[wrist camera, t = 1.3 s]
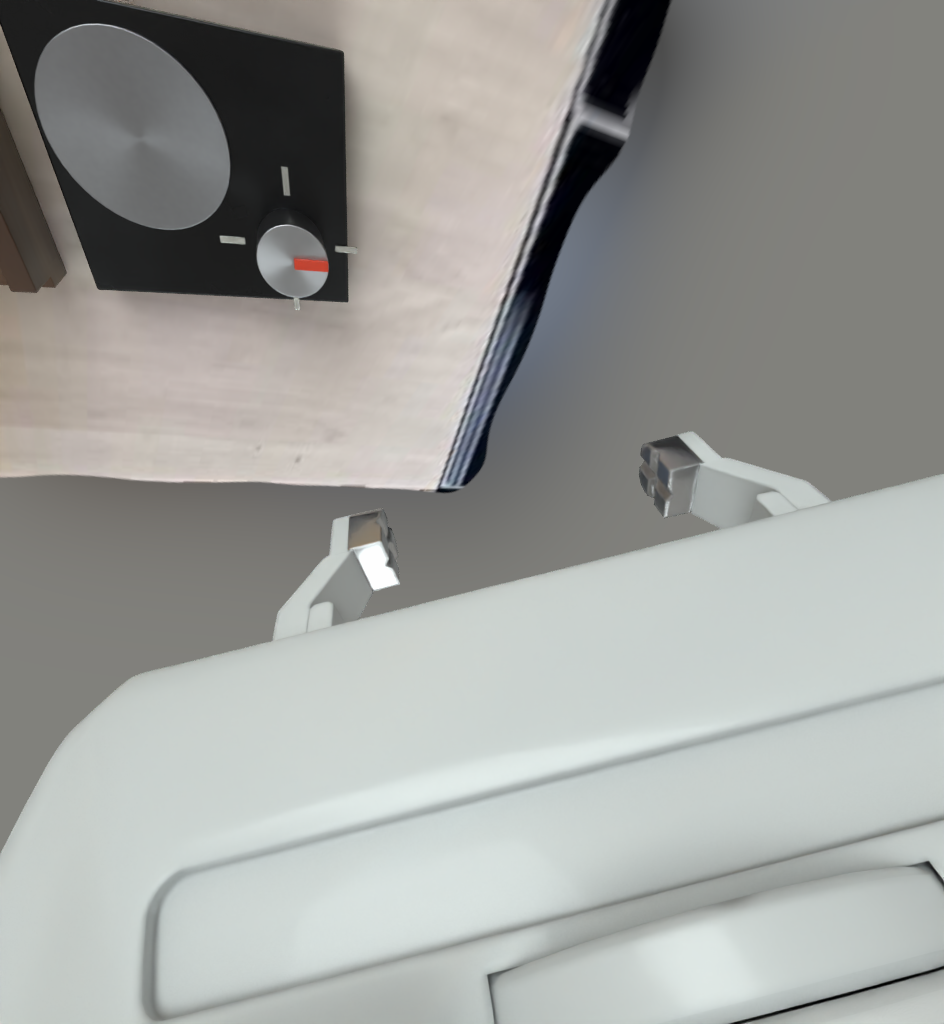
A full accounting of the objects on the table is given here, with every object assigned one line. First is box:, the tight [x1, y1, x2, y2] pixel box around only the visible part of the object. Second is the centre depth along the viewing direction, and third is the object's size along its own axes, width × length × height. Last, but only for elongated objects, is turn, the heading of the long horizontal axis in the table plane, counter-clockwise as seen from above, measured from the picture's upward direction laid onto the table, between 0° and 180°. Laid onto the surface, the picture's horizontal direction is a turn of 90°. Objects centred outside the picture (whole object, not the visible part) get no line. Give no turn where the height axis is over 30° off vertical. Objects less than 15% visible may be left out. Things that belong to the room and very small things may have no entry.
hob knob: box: [256, 209, 329, 298], centre depth 29 cm, size 4×4×4 cm
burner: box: [34, 23, 231, 230], centre depth 25 cm, size 8×8×1 cm
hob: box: [0, 0, 357, 310], centre depth 28 cm, size 16×14×3 cm
